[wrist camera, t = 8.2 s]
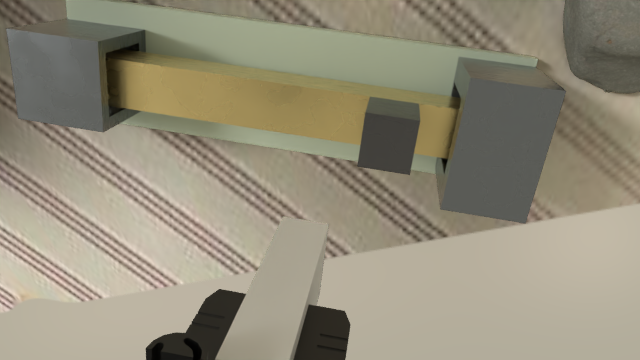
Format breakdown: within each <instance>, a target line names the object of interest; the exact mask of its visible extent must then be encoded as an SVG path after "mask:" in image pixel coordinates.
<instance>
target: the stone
mask: <svg viewBox="0 0 640 360" xmlns="http://www.w3.org/2000/svg"><path fill="white" fill-rule="evenodd" d="M563 33H564V41H565V48H566V54H567V58H568V62H569V66H570V69H571V71H572V72H573V74H574V75H575V76H576V77H578V78H579V79H583V80H586V81H588V82H590V83H591V84H593V85H595V86H597V87H599V88H601V89H603V90H604V91H605V92H607V91H608V93H609V92H612V91H613V92H617V93H635V92H640V0H566V1H565V8H564V17H563Z"/></svg>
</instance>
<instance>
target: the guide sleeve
mask: <svg viewBox="0 0 640 360" xmlns="http://www.w3.org/2000/svg"><path fill="white" fill-rule="evenodd" d="M6 30H7V38H8V45H9V53H10V60H11V68H12V75H13V83H14V90H15V98H16V105H17V113H18V119H25V120H31V121H37V122H43V123H49V124H55V125H61V126H68V127H74V128H80V129H86V130H92V131H98V132H105V131H107V130H108V129H110V128H112V127H114V126H116V125H117V124H119V123H121V122H123V121H125V120H127V119H128V118H130V117H132V116H134V115H136V114H137V113H139V112H141V111H139V110H133V109H126V108H120V107H113V106H108V89H107V72H106V55H105V53H107V52H110V51H113V50H117V49H126V50H133V51H140V52H146V37H145V30H144V29H137V28H130V27H123V26H115V25H108V24H101V23H94V22H87V21H80V20H72V19H62V20H56V21H50V22H44V23H37V24H31V25H25V26H19V27H12V28H6Z"/></svg>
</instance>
